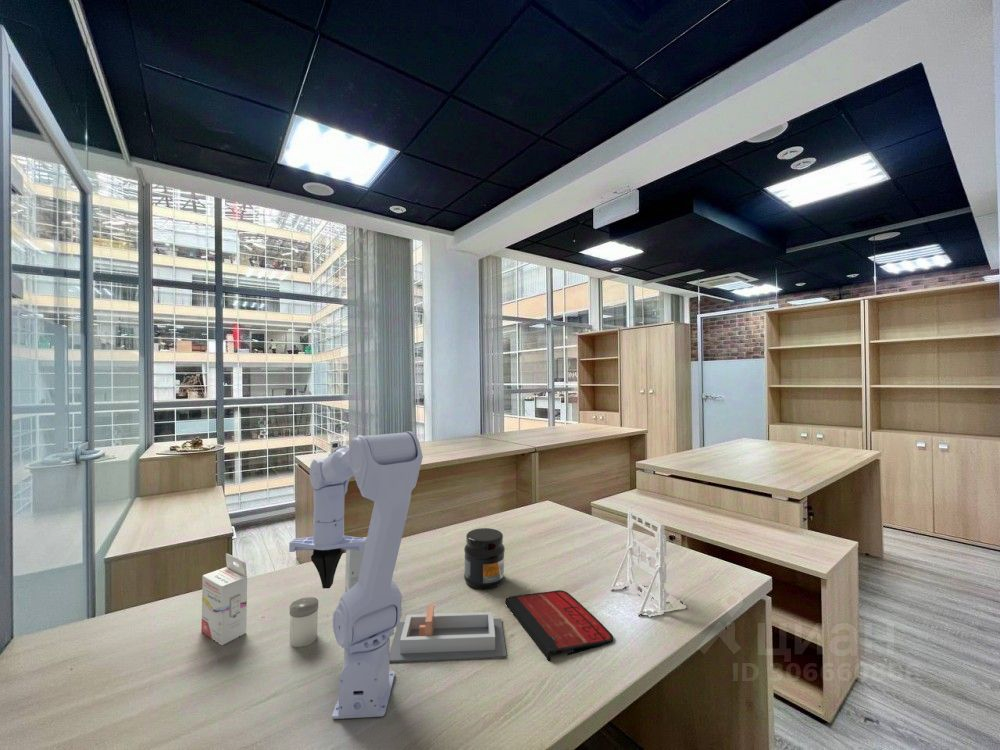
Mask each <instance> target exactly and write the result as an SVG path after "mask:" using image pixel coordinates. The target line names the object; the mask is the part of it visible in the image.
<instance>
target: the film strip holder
mask: <svg viewBox="0 0 1000 750" xmlns="http://www.w3.org/2000/svg"><path fill="white" fill-rule="evenodd" d="M634 516H635V517H636V518H635V519H634V518H633V517H634ZM639 519H641V521H642V522H639ZM646 523H648V524H649V527H648V526H647V525H646ZM634 524H636V525H638V526H640V527H642V528H643V529H644V530H645V529H646V530H647V531H649V533H653V534H654V538H655V541H656V545H657V546H656V548H655V550H653V549H651V548H649V547H648V546H646V545H644V544H643V543H642V542H640V541H639V540H637V539H636V538H635V536H634V531H633V528H634ZM653 527H655V528H657V529H656V530H657V531H655V530H654V528H653ZM665 527H666V526H665V524H664V523H660V522H658V521H656V520H654V519H652V518H650V517H648V516H646V515H644V514H642V513H640V512H638V511H636V510H634V509H633V508H632V507H628V511H627V542H626V543H627V544H626V546H625V550H626V552H625V553H624V557H623V558H622V561H621V563H620V566H619V567H618V570H617V573H616V574H615V578H614V580H613V582H612V585H611V586H612V587H615V585H617V586H621V585H625V584H624V582H623V581H619V582H618V580H619V577H620V574H621V572H622V570H623V567H624V565H625V562H626V559H627V563H626V565H627V567H626V569H627V571H626V572H627V573H626V574H627V575H626V576H627V577H626V580H627V582H628V583H629V584H632V583H636V588H635V587H634V588H635V589H636V590H638V591H639V592H640V591H642V594H643V595H644V596H645V598H644V599H643V601H642V602H641V606H640V609H639V610H636V611H635V614H636V613H637V614H638V615H640V614H644V613H647V614H648V615H651V614H655V613H658V612H661V611H657V610H655V609H654V608H653V607H651V608H645V607H646V604H647V600H649V601H650V602H651V603H653V604H654V605H655V606H656V608H658V609H659V610H666V608H667V603H666V595H667V589H666V588H665V583H667V562H665V557H666V556H667V535H666V534H665ZM634 547H635V548H637V556H635V555H634ZM643 553H645V558H646V560H645V561H643V557H642V554H643ZM652 559H653V560H655V564H654V568H653V567H652V562H651V561H652ZM634 565H637V566H638V567H639V568H641V570H643V571H645V572H646V573H648V574H649V575H651V576H652V578H651V580H650V581H651V584H650V585H649V587H647V588H646V587H644V586H642V585H641V584H640V583H639V582H638V580H636V579H635V575H634V572H633V566H634ZM654 582H655V583H656V586H657V590H656V592H655V595H654V594H653V593H651V590H652V587H653V586H652V585H653V583H654ZM619 583H620V584H621V585H620V584H619ZM638 586H639V588H641V590H640V589H639V588H638ZM645 591H646V592H647V593H646V595H645ZM640 593H641V592H640ZM649 595H650V599H649V598H648V597H649ZM652 597H653V598H654V599H656V600H657V605H656V604H655V603H654V602H652ZM640 616H641V615H640Z"/></svg>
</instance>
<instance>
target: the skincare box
mask: <svg viewBox="0 0 1000 750" xmlns="http://www.w3.org/2000/svg"><path fill="white" fill-rule="evenodd" d="M363 538H367V536H363ZM363 554H364V551H359V550H345V576H344V577H345V578H344V579H345V580H344V582H345V584H344V590H345V592H347V591H348V590H349V589H350V588H351V587H352V586H354V585H355V584H356V583H357V582H358V577H359V573H360V568H361V563H362V559H363Z"/></svg>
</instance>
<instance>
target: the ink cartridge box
mask: <svg viewBox="0 0 1000 750" xmlns="http://www.w3.org/2000/svg"><path fill="white" fill-rule="evenodd" d="M225 561H226V566H225V567H221V568H220V569H217V570H214V571H211V572H208V573H205V574H202V578H201V579H202V588H201V589H202V592H201V593H202V595H201V631H200V632H201V633H202V634H204V635H206V636H207V637H209V638H210V639H211V640H213V641H214V640H215V641H214V642H216V643H217V642H218V644H219V646H220V645H221V646H224V645H226V644H228V643H230V642H232V641H233V640H235V639H238V638H239V636H240V637H241V636H243V635H245V634H247V615H248V614H247V611H248V609H247V608H248V606H247V605H248V576H247V564H246V563H247V562H246V561H244V560H242V559H240V558H238V557H236V556H234V555H233V554H232V555H231V554H229V553H228V552H227V553H225ZM234 563H236V564H237V565H236V564H234Z"/></svg>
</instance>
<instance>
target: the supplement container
mask: <svg viewBox="0 0 1000 750" xmlns="http://www.w3.org/2000/svg"><path fill="white" fill-rule="evenodd" d="M465 537H466V543H465V545H464V549H463V550H464V573H463V577H464V581H465V582H466V584H467V585H469V586H470V587H472V588H474V589H480V590H489V588H490V589H494V588H496V587H498V586H499V585H501V584H502V582H504V579H505V550H506V548H505V545H504V535H503V533H502V531H500V530H498V529H494V528H489V527H488V528H487V527H484V528H483V527H479V528H474V529H471V530H470V531H468V532H467V533H466V536H465ZM493 587H494V588H493Z"/></svg>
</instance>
